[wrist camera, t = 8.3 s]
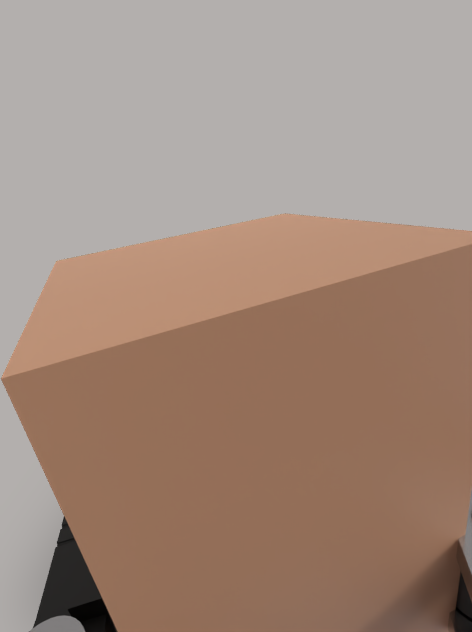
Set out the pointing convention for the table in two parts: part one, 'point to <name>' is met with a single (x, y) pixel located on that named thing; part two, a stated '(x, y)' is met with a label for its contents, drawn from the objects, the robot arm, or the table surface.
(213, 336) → the terracotta block
